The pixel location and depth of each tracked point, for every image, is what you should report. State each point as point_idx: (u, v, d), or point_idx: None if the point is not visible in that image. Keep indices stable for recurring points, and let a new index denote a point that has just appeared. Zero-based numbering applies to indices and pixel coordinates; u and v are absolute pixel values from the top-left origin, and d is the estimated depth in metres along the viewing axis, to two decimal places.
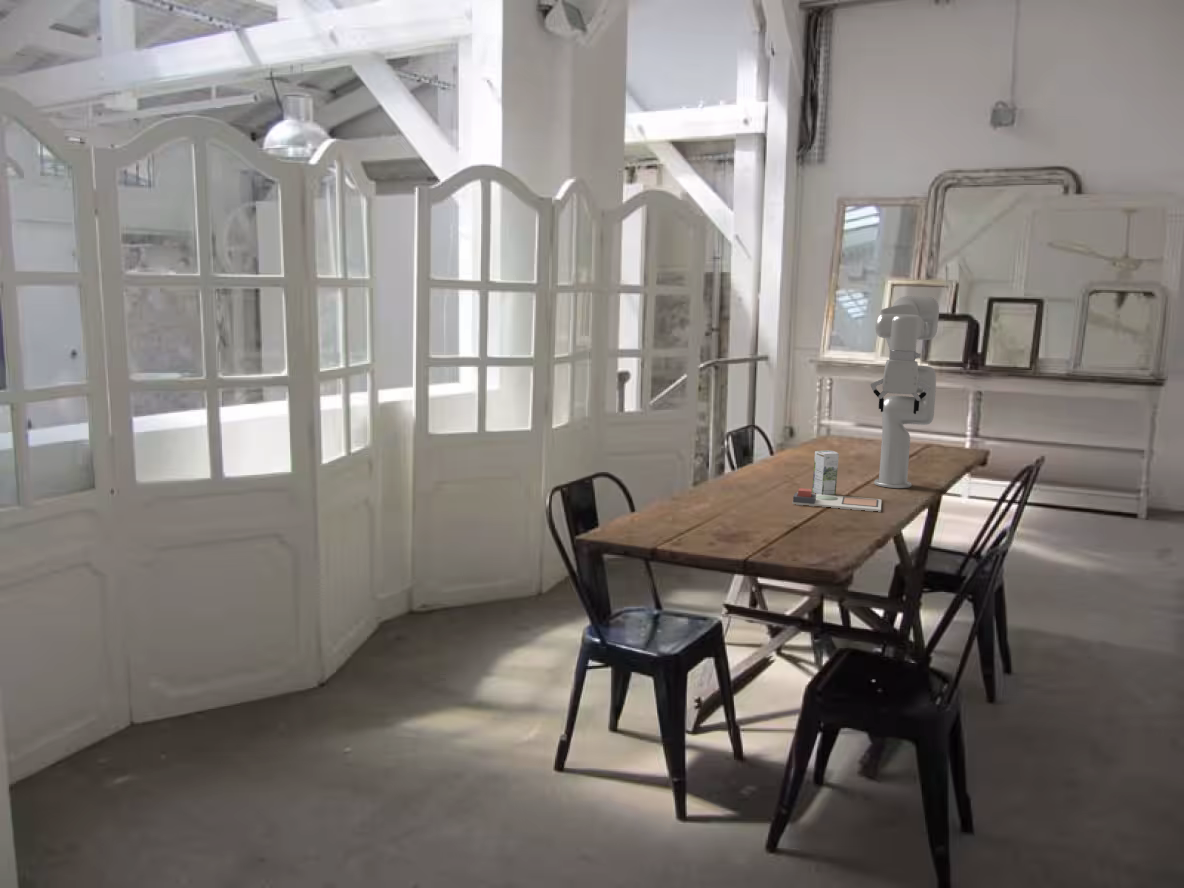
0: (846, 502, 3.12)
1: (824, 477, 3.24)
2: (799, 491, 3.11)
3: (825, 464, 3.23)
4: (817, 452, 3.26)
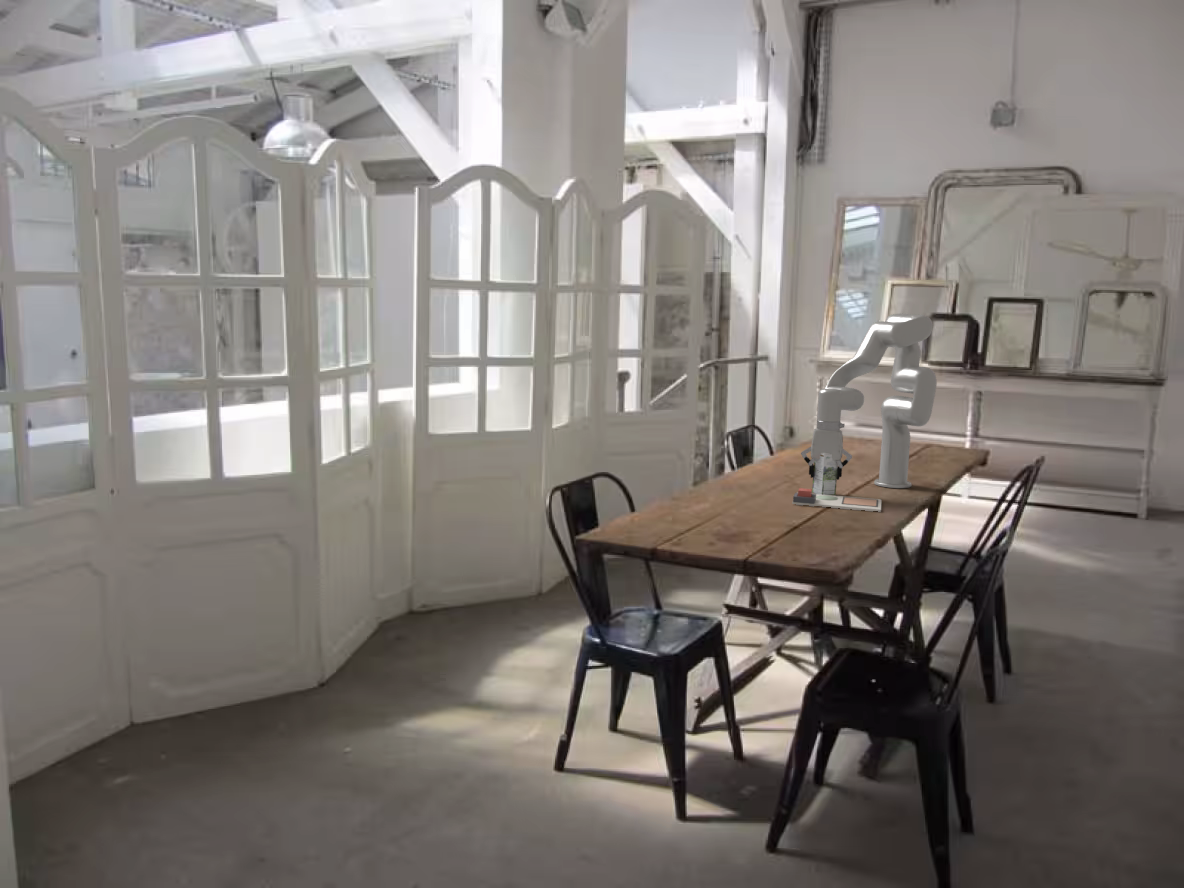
0: (846, 502, 3.12)
1: (824, 477, 3.24)
2: (799, 491, 3.11)
3: (824, 464, 3.23)
4: None
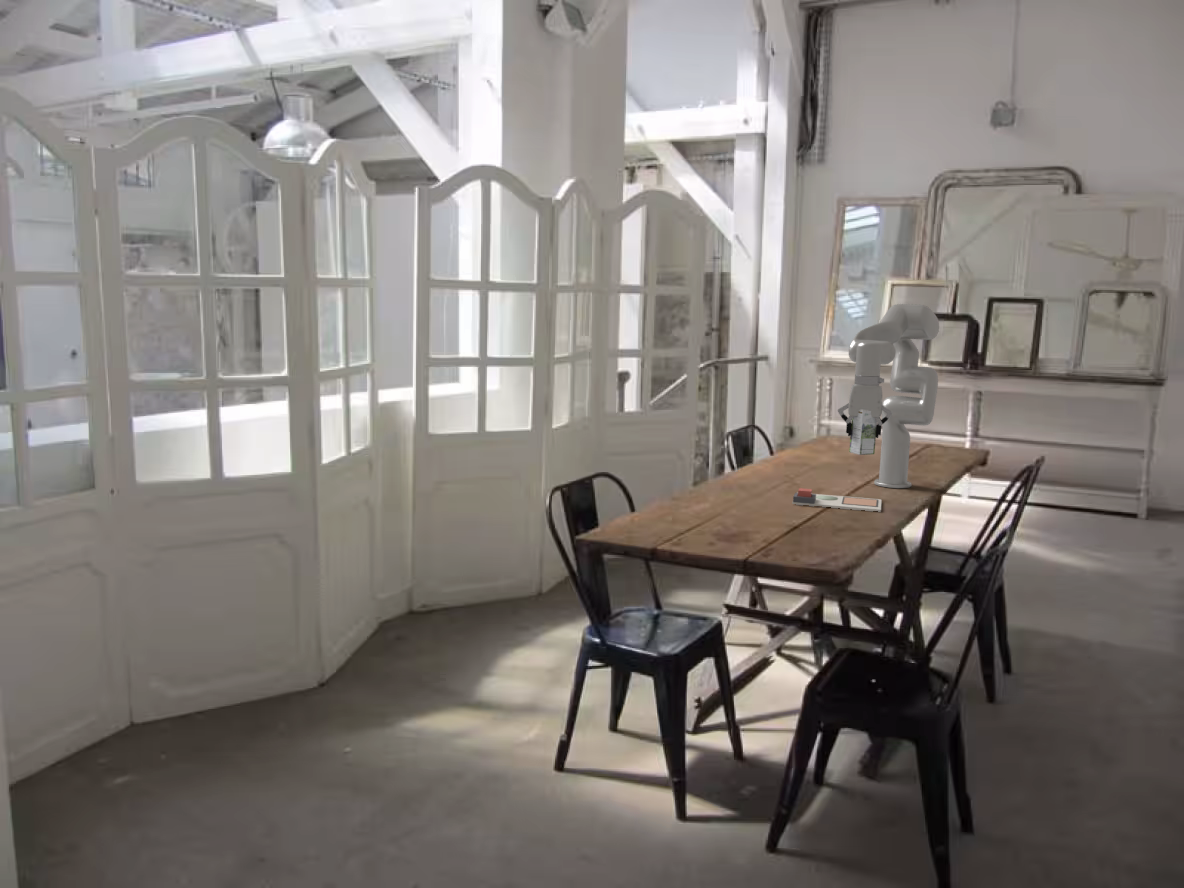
0: (846, 502, 3.12)
1: (862, 435, 3.07)
2: (799, 491, 3.11)
3: (863, 422, 3.06)
4: None
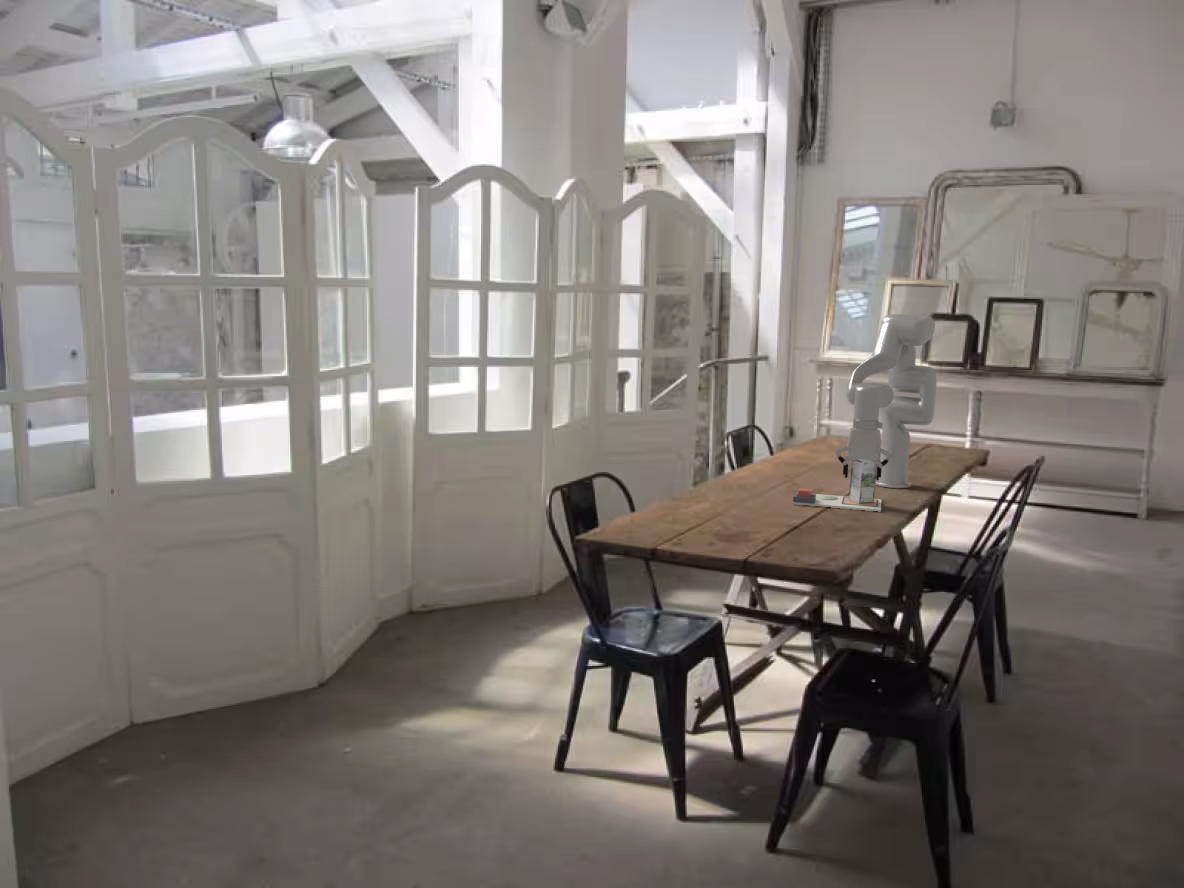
0: (846, 502, 3.12)
1: (862, 484, 3.09)
2: (799, 491, 3.11)
3: (862, 471, 3.08)
4: None
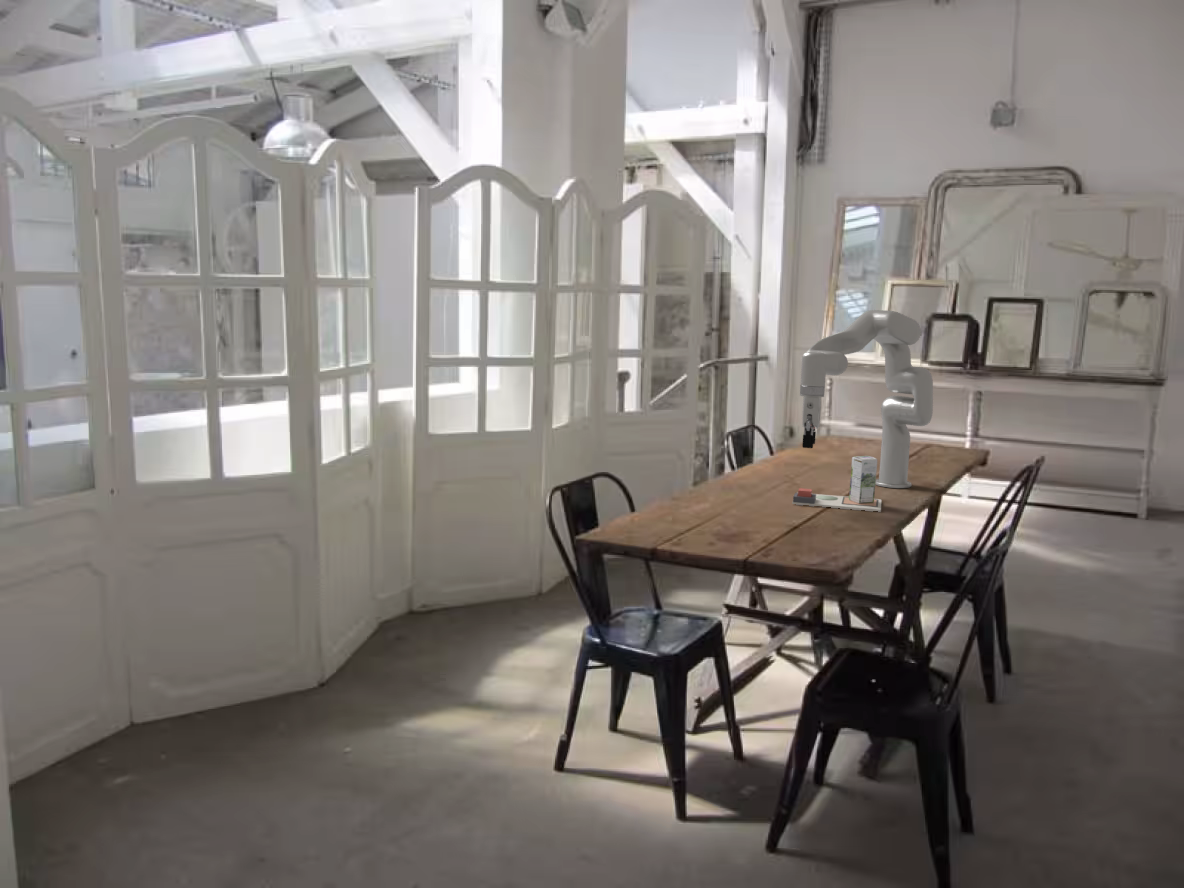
0: (846, 502, 3.12)
1: (862, 484, 3.09)
2: (799, 491, 3.11)
3: (862, 471, 3.08)
4: (854, 458, 3.11)
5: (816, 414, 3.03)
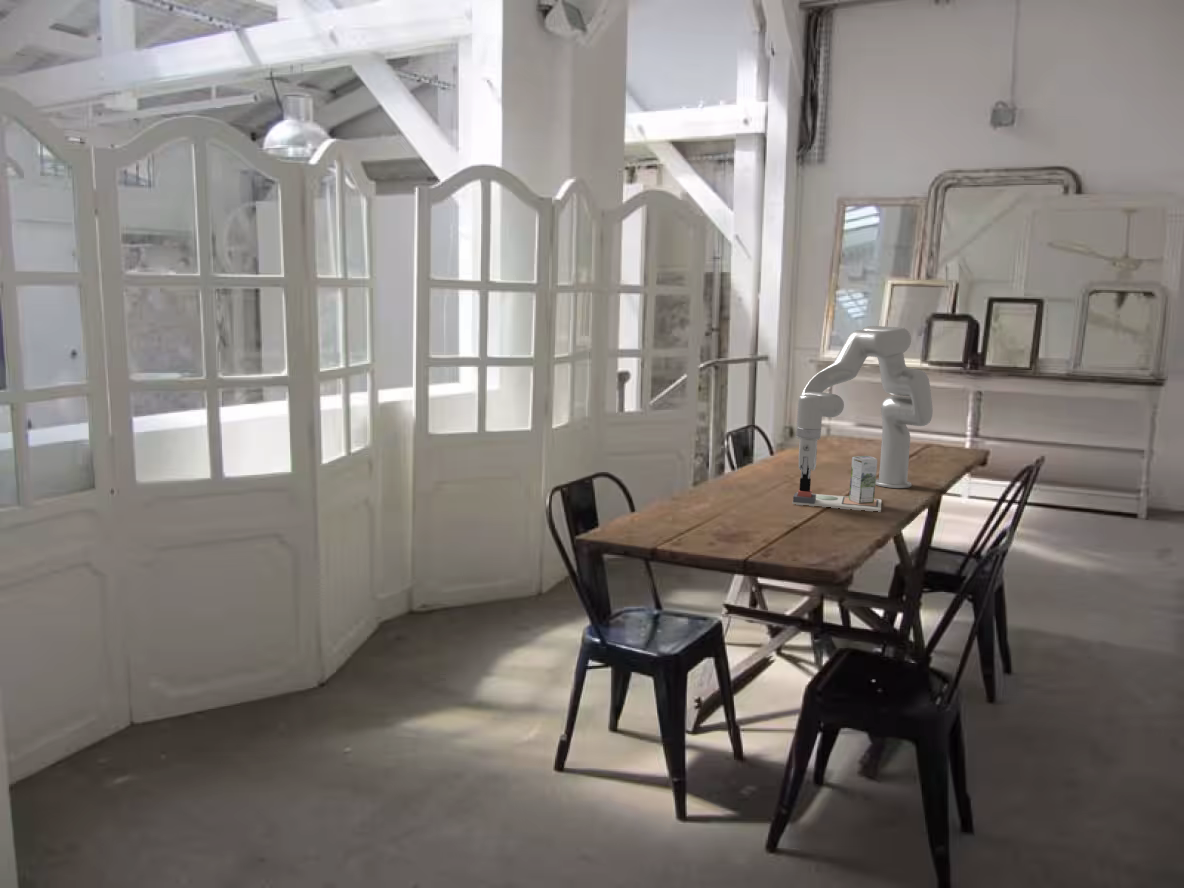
0: (846, 502, 3.12)
1: (862, 484, 3.09)
2: (799, 492, 3.11)
3: (862, 471, 3.08)
4: (854, 458, 3.11)
5: (812, 457, 3.05)
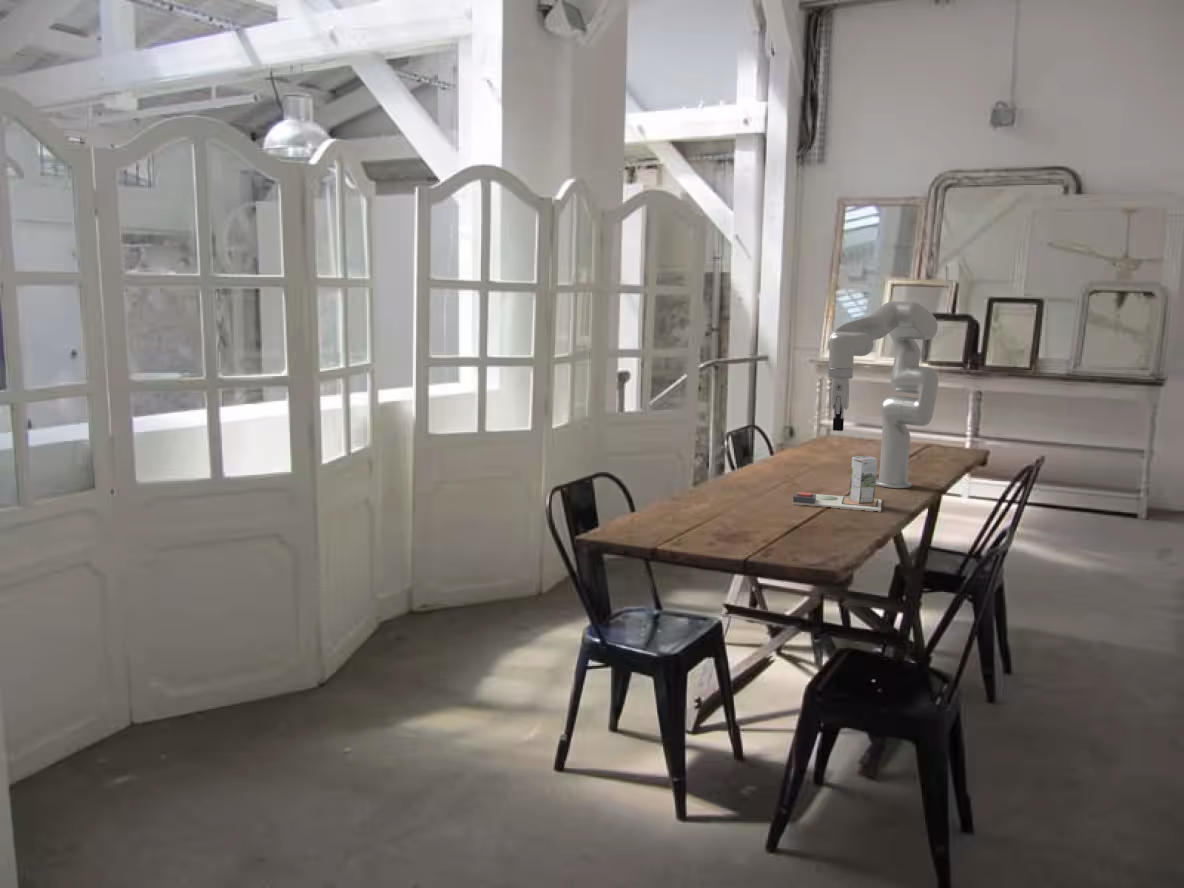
0: (846, 502, 3.12)
1: (862, 484, 3.09)
2: (799, 495, 3.11)
3: (862, 471, 3.08)
4: (854, 458, 3.11)
5: (845, 396, 3.07)
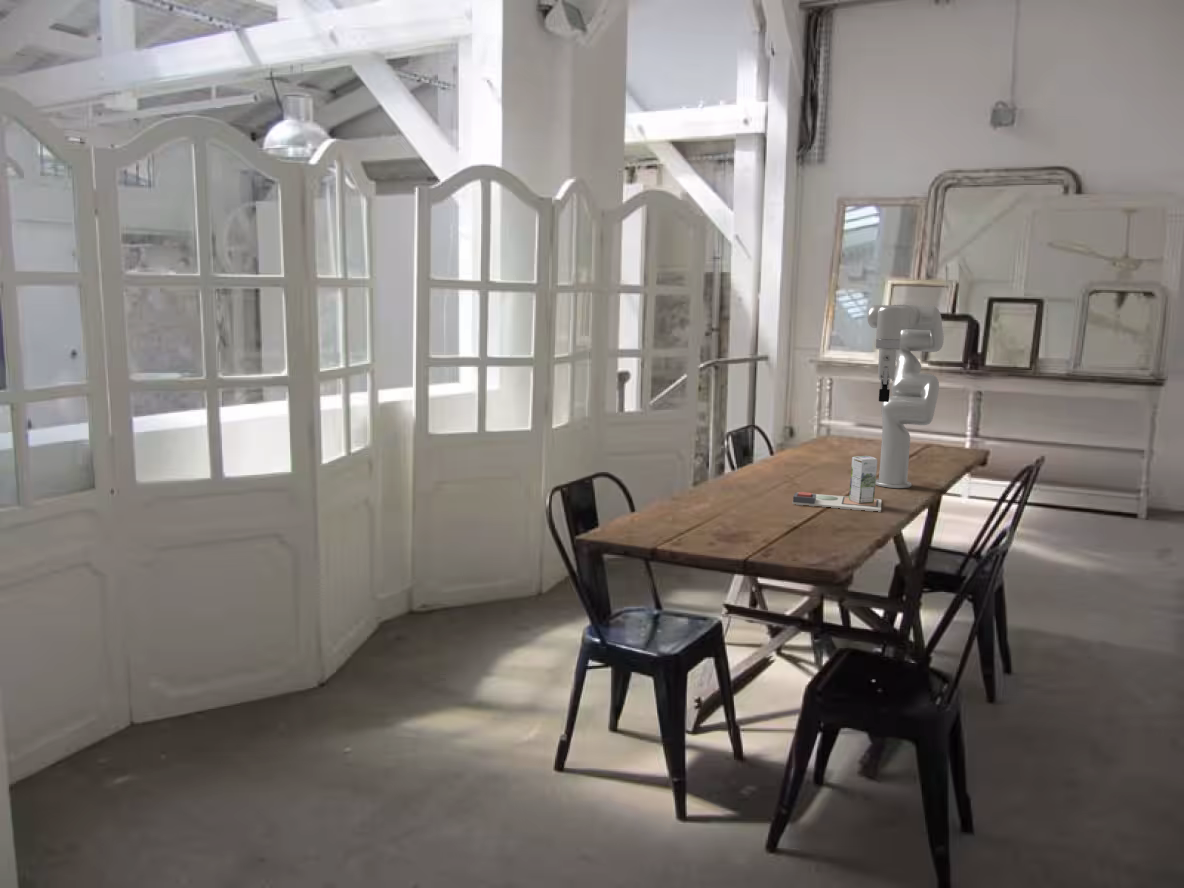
0: (846, 502, 3.12)
1: (862, 484, 3.09)
2: (799, 495, 3.11)
3: (862, 471, 3.08)
4: (854, 458, 3.11)
5: (892, 366, 3.12)
